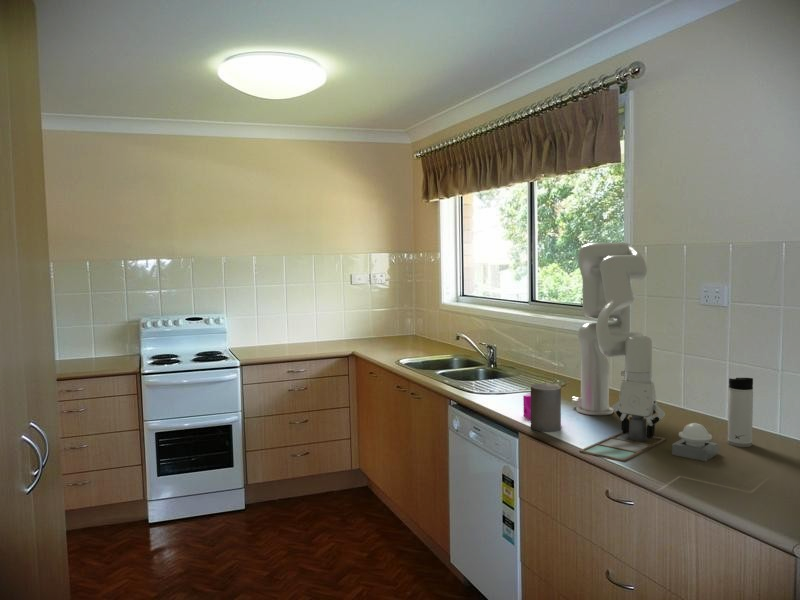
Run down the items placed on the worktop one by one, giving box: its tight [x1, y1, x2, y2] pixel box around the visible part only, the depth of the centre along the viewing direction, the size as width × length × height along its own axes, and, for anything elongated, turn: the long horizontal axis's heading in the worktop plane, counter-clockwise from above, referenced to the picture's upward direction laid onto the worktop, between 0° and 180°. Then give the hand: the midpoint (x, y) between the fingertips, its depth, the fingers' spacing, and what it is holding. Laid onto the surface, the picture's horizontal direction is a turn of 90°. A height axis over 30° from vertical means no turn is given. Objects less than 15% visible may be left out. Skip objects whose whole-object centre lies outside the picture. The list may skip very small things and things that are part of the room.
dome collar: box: [671, 438, 719, 462], centre depth 178 cm, size 9×9×3 cm
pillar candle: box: [529, 381, 562, 433], centre depth 207 cm, size 10×10×15 cm
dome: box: [678, 422, 713, 448], centre depth 178 cm, size 8×8×7 cm
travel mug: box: [727, 377, 754, 448], centre depth 186 cm, size 6×7×20 cm
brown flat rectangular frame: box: [579, 431, 667, 463], centre depth 187 cm, size 13×28×1 cm, turn 135°
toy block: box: [523, 394, 531, 421], centre depth 217 cm, size 15×6×8 cm, turn 14°
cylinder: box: [628, 415, 647, 443], centre depth 193 cm, size 5×5×10 cm
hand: (637, 435), depth 193 cm, fingers open, 6 cm apart
